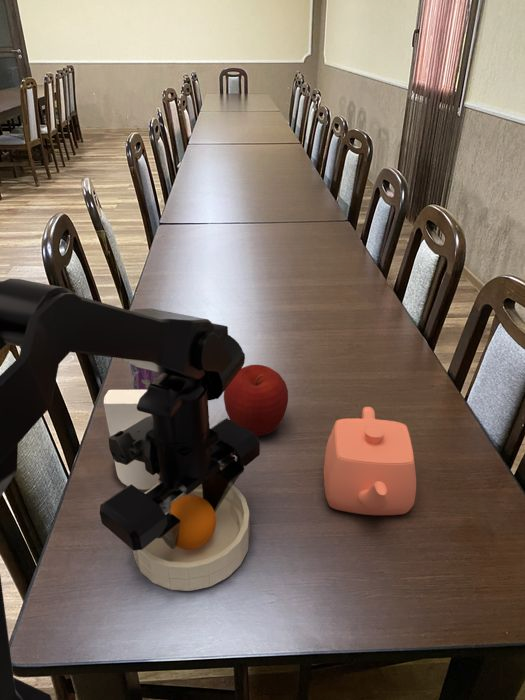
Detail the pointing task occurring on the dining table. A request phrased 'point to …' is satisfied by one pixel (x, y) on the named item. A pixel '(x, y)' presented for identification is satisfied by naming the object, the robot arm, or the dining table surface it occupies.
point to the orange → (194, 521)
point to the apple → (256, 399)
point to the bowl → (201, 550)
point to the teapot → (370, 466)
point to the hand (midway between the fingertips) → (191, 529)
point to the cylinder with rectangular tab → (120, 418)
